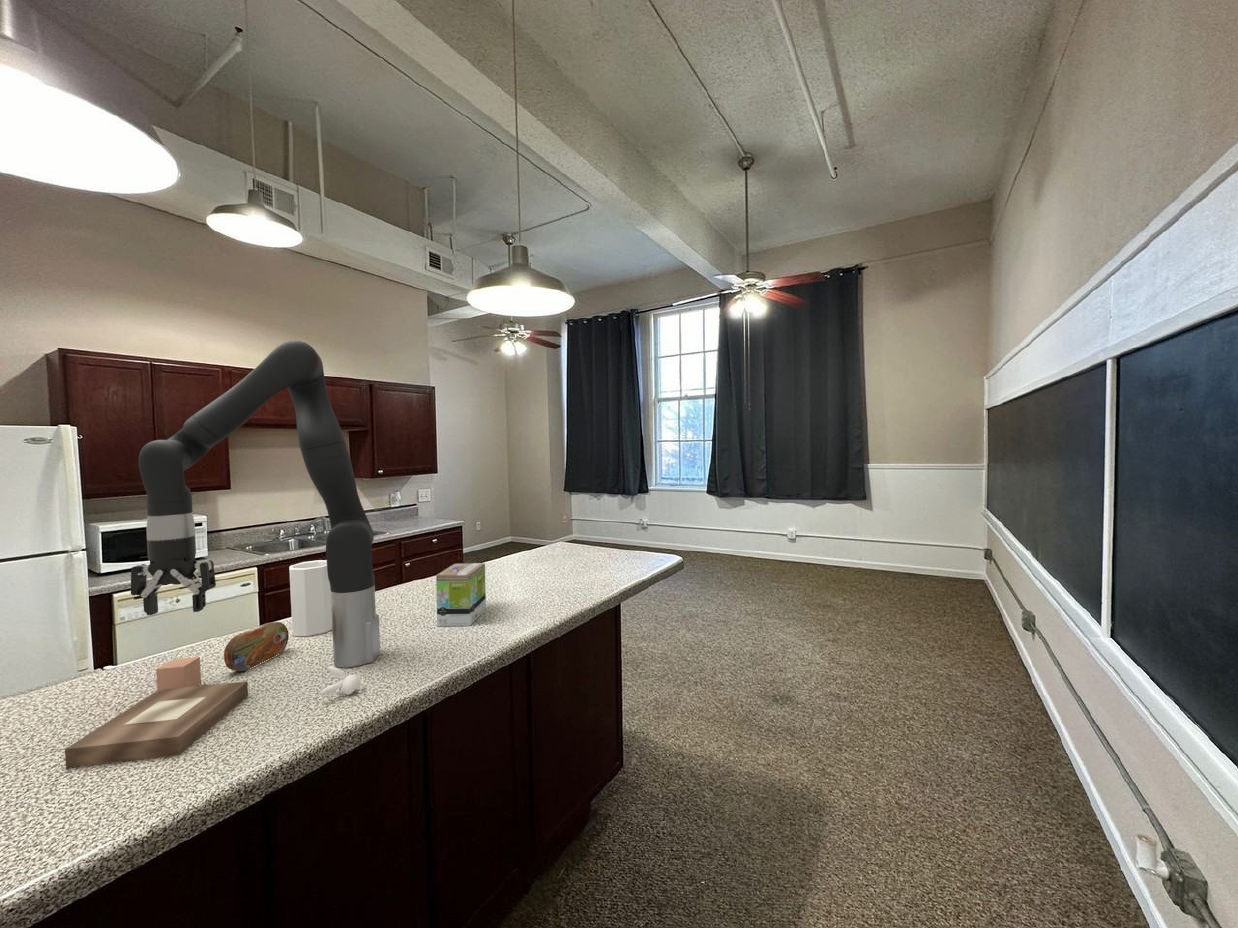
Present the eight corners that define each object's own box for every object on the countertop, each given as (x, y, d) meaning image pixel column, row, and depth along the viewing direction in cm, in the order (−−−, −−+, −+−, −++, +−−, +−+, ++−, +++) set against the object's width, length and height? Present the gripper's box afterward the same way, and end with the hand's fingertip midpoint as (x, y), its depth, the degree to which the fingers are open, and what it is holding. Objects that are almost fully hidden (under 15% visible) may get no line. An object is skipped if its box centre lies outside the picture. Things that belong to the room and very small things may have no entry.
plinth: (248, 695, 102) (247, 680, 102) (179, 754, 82) (178, 735, 82) (158, 704, 99) (158, 688, 99) (65, 767, 80) (64, 747, 79)
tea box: (472, 626, 139) (470, 573, 138) (436, 627, 139) (434, 574, 139) (487, 609, 154) (485, 561, 154) (454, 609, 154) (452, 562, 154)
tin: (233, 677, 111) (231, 640, 111) (221, 676, 111) (219, 639, 111) (290, 650, 126) (289, 617, 125) (280, 649, 126) (278, 616, 126)
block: (201, 684, 108) (199, 656, 108) (185, 695, 103) (183, 666, 103) (175, 686, 107) (173, 658, 107) (157, 697, 102) (156, 669, 102)
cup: (345, 626, 142) (342, 562, 141) (303, 640, 132) (300, 570, 132) (325, 620, 148) (322, 558, 147) (283, 632, 138) (280, 566, 138)
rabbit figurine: (362, 697, 100) (320, 688, 96) (355, 708, 101) (313, 700, 98) (370, 671, 105) (330, 661, 101) (363, 681, 106) (323, 672, 103)
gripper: (220, 531, 109) (224, 604, 110) (146, 534, 107) (150, 609, 107) (198, 536, 102) (201, 615, 102) (117, 540, 99) (121, 621, 100)
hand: (175, 612), depth 105 cm, fingers open, 8 cm apart
